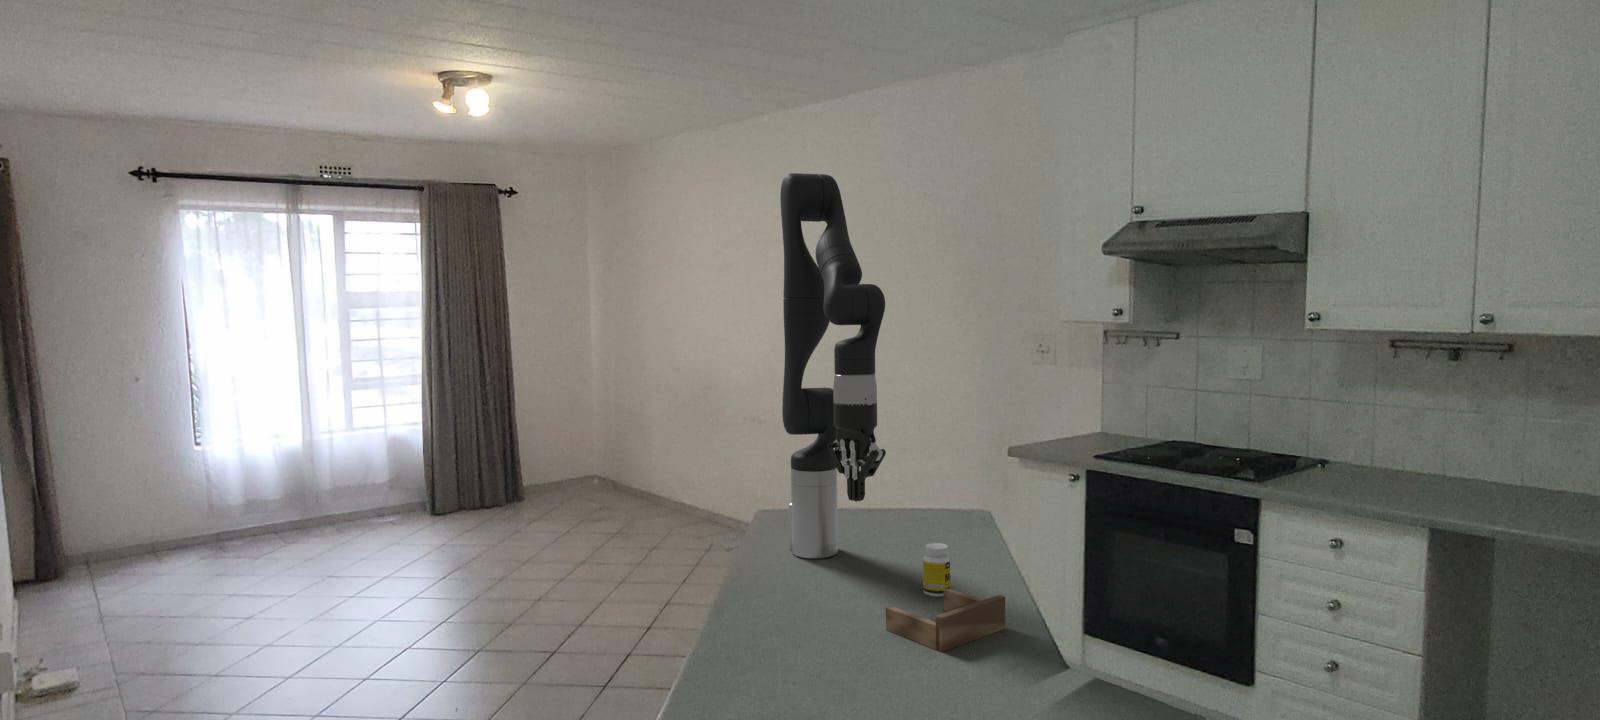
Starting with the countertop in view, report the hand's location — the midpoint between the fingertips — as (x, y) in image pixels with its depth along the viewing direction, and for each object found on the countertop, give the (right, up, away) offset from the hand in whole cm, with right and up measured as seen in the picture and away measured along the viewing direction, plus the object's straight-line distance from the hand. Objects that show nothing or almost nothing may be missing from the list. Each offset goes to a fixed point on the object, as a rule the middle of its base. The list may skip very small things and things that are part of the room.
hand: (856, 500), depth 146 cm
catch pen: (+13, -18, -15) cm, 26 cm away
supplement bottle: (+14, -17, +2) cm, 22 cm away
